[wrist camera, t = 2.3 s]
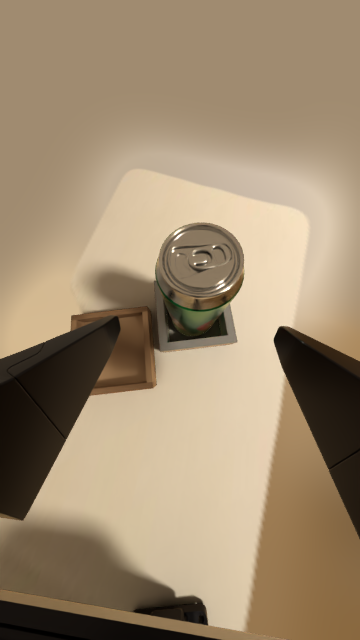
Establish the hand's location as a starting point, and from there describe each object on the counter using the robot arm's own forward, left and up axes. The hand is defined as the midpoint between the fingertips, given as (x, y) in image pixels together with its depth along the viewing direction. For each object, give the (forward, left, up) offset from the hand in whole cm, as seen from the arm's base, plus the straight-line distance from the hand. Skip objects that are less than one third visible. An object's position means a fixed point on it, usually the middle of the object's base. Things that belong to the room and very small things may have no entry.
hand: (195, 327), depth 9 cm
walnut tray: (0, +9, -10) cm, 14 cm away
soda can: (+3, -1, -10) cm, 11 cm away
